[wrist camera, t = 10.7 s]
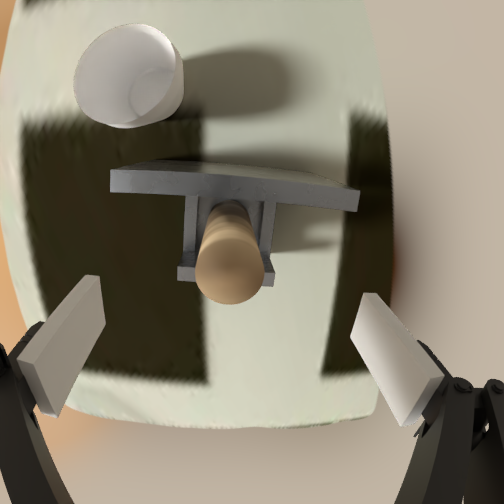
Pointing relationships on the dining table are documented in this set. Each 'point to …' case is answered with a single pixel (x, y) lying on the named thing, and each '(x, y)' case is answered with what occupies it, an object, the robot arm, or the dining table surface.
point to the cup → (129, 77)
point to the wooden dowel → (229, 256)
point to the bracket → (231, 197)
